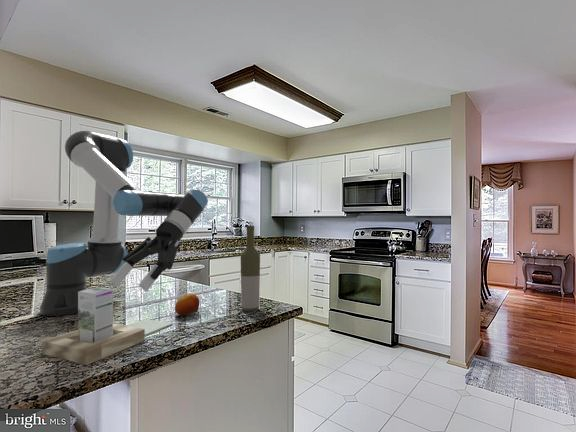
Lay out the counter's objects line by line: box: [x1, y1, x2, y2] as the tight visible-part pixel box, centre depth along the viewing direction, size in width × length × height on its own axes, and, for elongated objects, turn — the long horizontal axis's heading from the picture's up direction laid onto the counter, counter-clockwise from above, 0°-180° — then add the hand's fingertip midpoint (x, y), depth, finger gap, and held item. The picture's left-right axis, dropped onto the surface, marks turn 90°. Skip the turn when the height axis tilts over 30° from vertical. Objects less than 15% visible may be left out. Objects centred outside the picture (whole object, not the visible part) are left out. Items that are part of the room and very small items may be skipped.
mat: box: [126, 318, 173, 337], centre depth 97 cm, size 11×11×1 cm
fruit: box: [174, 293, 200, 317], centre depth 112 cm, size 8×8×8 cm
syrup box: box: [77, 287, 114, 344], centre depth 83 cm, size 6×6×14 cm
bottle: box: [240, 225, 261, 312], centre depth 117 cm, size 7×7×30 cm
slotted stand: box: [41, 323, 146, 366], centre depth 83 cm, size 16×16×3 cm
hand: (127, 285), depth 89 cm, fingers open, 13 cm apart
